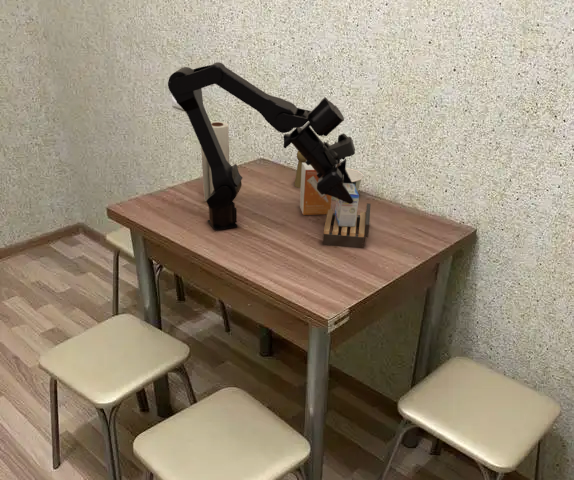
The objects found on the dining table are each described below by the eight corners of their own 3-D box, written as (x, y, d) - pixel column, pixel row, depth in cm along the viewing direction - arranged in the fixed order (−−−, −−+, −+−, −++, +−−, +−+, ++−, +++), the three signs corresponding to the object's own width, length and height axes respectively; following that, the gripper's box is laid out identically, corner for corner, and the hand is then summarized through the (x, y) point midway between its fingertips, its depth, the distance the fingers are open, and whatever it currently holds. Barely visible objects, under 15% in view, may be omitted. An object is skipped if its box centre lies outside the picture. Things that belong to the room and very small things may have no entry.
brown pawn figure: (316, 184, 183) (319, 149, 176) (307, 189, 178) (309, 153, 172) (300, 180, 185) (302, 145, 178) (290, 185, 181) (291, 150, 174)
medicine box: (334, 214, 153) (337, 182, 148) (351, 214, 153) (354, 182, 148) (338, 226, 147) (341, 193, 142) (355, 227, 147) (359, 194, 142)
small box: (302, 215, 162) (304, 169, 154) (299, 206, 167) (301, 161, 159) (331, 214, 163) (334, 169, 155) (326, 206, 168) (330, 161, 160)
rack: (322, 244, 147) (324, 220, 143) (326, 222, 159) (328, 200, 155) (366, 248, 146) (369, 224, 142) (367, 226, 157) (370, 203, 154)
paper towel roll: (232, 196, 172) (230, 121, 160) (228, 203, 168) (226, 127, 155) (208, 194, 173) (204, 120, 160) (204, 202, 168) (199, 125, 155)
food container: (369, 196, 175) (371, 175, 171) (341, 206, 169) (343, 184, 165) (341, 185, 182) (343, 164, 178) (313, 193, 176) (314, 172, 172)
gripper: (334, 137, 129) (377, 189, 135) (340, 116, 144) (378, 163, 149) (298, 169, 134) (341, 218, 140) (307, 145, 149) (345, 190, 155)
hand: (352, 196), depth 146 cm, fingers closed on medicine box, 8 cm apart
